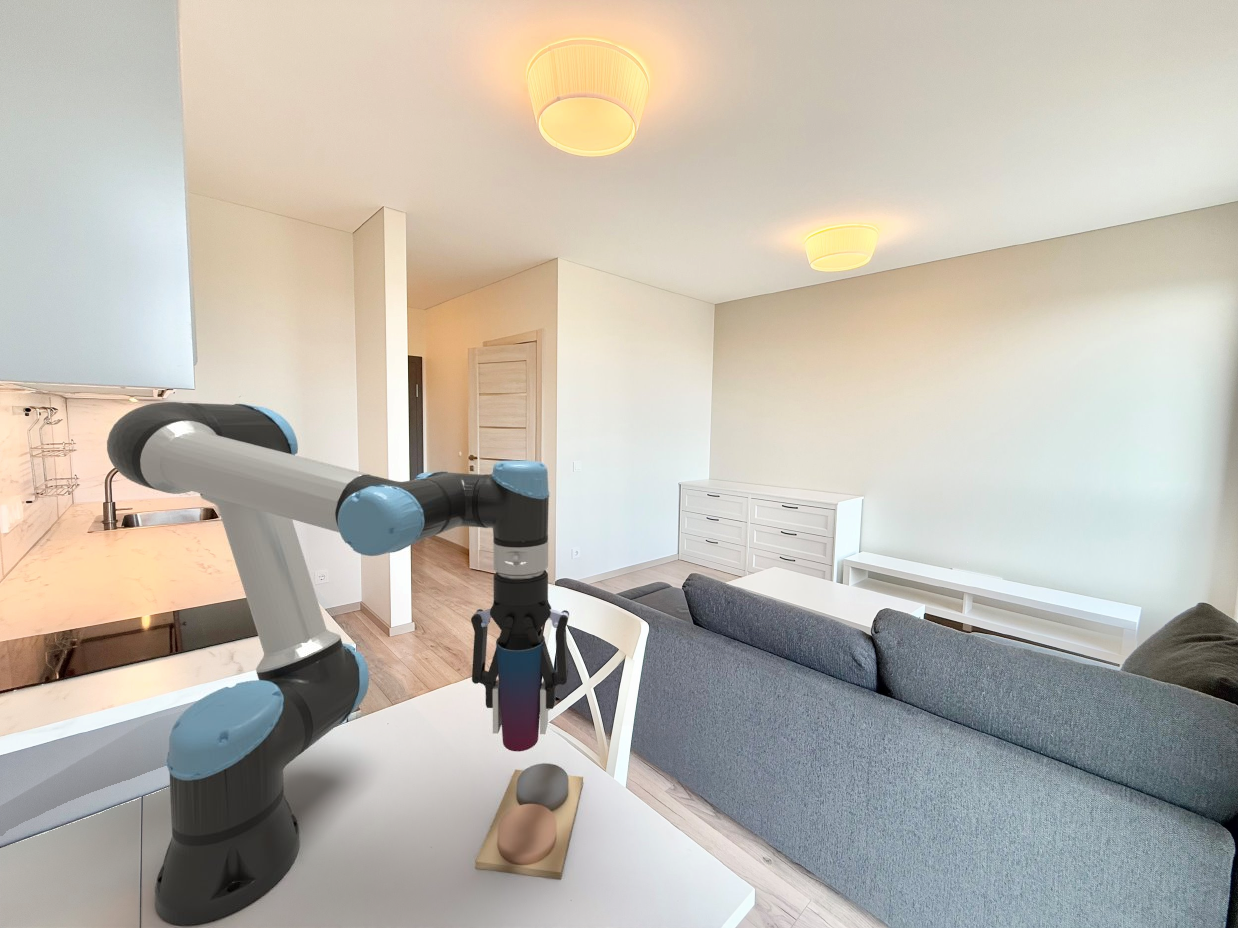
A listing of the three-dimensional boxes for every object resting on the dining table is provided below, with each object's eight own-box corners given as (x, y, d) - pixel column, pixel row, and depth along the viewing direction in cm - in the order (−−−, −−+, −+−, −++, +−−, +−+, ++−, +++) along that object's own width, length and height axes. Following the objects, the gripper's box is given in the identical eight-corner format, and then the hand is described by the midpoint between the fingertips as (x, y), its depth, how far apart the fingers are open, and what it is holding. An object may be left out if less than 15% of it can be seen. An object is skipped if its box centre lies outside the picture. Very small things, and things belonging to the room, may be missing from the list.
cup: (489, 753, 68) (488, 649, 66) (505, 723, 74) (505, 628, 73) (537, 757, 67) (537, 652, 66) (549, 727, 74) (549, 631, 72)
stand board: (475, 867, 67) (475, 847, 67) (515, 774, 85) (515, 758, 85) (560, 878, 66) (561, 858, 66) (583, 782, 84) (583, 765, 84)
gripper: (443, 578, 65) (446, 743, 67) (587, 580, 65) (584, 745, 67) (461, 562, 72) (463, 711, 74) (590, 564, 72) (588, 713, 74)
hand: (520, 727), depth 70 cm, fingers closed on cup, 6 cm apart
